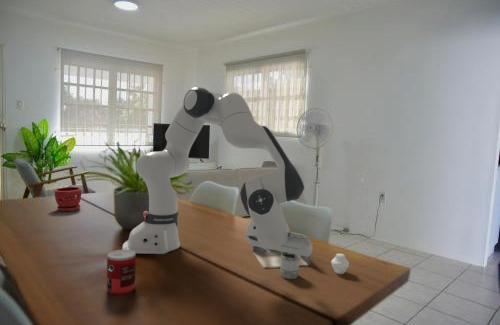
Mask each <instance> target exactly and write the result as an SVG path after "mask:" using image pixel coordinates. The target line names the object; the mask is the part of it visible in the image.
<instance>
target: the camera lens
mask: <svg viewBox="0 0 500 325" xmlns="http://www.w3.org/2000/svg"><path fill="white" fill-rule="evenodd" d="M294 255H295V254H292V253H287V252H284V253H282V255H281V268H280V276H281V277H282V278H284V279H288V280H294V279H295V280H296V279H297V278H298V276H299V272H300V267H299V260H300V259H298V258H295V257H294Z"/></svg>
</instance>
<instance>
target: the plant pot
mask: <svg viewBox="0 0 500 325" xmlns="http://www.w3.org/2000/svg"><path fill="white" fill-rule="evenodd" d="M54 199H55V202H56V205H57V207H56V209H57V210H58V211H61V212H72V211H77V210H79V209H80V208H81V204H80V202H81V199H82V188H81V187H79V186H65V187H64V186H63V187H59V188H55V189H54Z"/></svg>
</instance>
